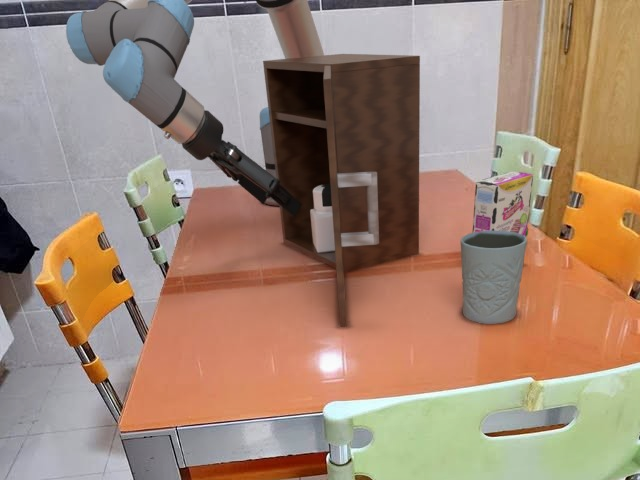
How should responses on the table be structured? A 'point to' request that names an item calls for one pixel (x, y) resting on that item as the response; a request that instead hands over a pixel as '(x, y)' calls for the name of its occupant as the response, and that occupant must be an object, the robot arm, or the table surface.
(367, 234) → the cupboard door
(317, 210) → the medicine bottle
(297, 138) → the cupboard
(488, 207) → the food carton
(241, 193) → the table surface
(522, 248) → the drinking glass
